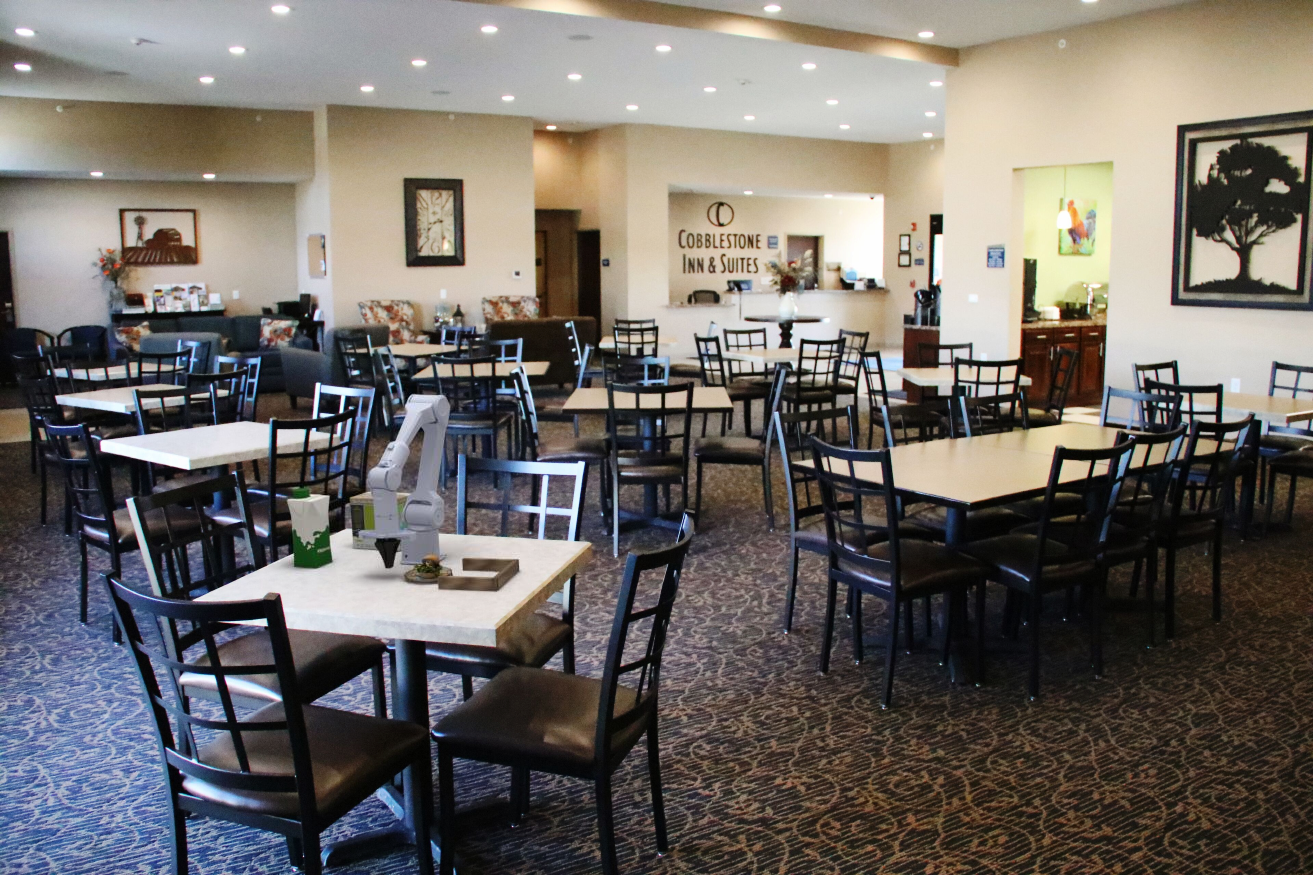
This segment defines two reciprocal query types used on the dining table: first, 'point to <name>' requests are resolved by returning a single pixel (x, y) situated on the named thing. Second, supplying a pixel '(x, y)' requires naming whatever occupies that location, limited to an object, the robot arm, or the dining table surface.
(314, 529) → the milk carton
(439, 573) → the burger
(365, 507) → the tea box
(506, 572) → the open wooden frame
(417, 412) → the robot arm
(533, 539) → the dining table surface
